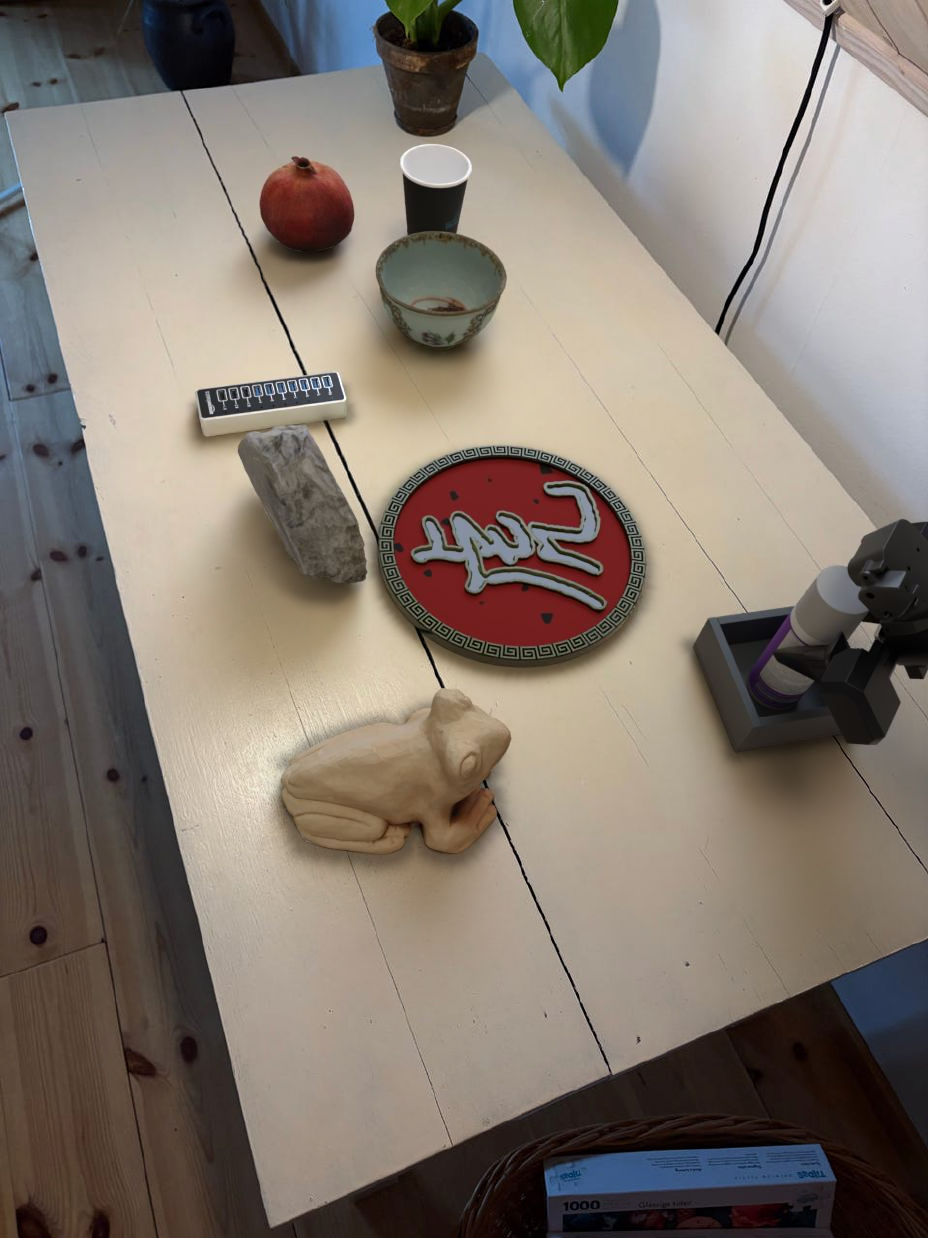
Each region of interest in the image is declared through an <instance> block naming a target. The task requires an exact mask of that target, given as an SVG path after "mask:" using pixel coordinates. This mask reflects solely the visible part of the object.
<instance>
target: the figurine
mask: <svg viewBox="0 0 928 1238" xmlns="http://www.w3.org/2000/svg"><path fill="white" fill-rule="evenodd" d="M511 741H512V733H511V731H510V729H509V728H508V727H507V725H506V724H505V723H504V722H503V721H501V720H499V719H498V718H497V717H494V716H492V715H490V714H488V712H487V711H485V710H483V709H482V708H481V707H480V706H477V705H476V704H474V703H473V702H472V699H471V698H470V697H469V696H467V695H466V694H465V693H464V692H462V691H461V690H460V689H459V688H447V687H444V688H443V687H442V688H440V689H439V690H437V691H436V692H435V693H434V696H433V698H432V701H431V707H425V708H421V709H418V710H417V711H415V712H412V713H411V714H409V715H407V716H406V717H405V723H403V724H394V723H392V722H375V723H374V722H373V723H369V724H367V725H364V726H360V727H357V728H354V729H351V730H347V731H344V732H341V733H338V734H336V735H333V736H330V737H327V738H326V739H323V740H321V741H319V742H317V743H315V744H314V745H312V746H310V747H309V748H307V749H306V750H303V751H302V752H300V753H297V754H296V755H294V756H293V757H291V758H290V760H289V761H288V763H289V764H288V767H287V768H286V769H285V771H283V773H282V774H281V776H280V783H281V785H282V786H283V787H284V788H283V789H282V791H281V798H282V801H283V804H284V805H285V807H286V810H287V812H288V813H289V814H290V815H291V816H293V822H294V823H295V826H296V829H297V831H298V833H299V835H300V837H302V840H304V842H306V843H310V844H314V845H317V846H320V847H322V848H326V849H327V848H328V849H332V850H343V851H345V850H347V851H350V852H360V853H365V854H371V855H372V854H373V855H387V854H390V853H393V852H397V851H399V850H401V849H402V848H403V846H404V845H405V844H406V840H405V838H407V837H409V835H410V832H411V829H412V828H416V827H419V829H420V832H421V834H422V837H423V839H424V844H425V845H426V846H427V847H428V848H429V849H431V850H433V851H439V852H442V853H449V854H459V853H461V852H463V851H465V850H466V849H468V848H469V847H470V846H472V845H473V844H474V843H475V842H476V840H477V839H478V838H479V837H480V836H481V835H482V834H483V833H484V832H485V831H486V830H487V829H488V828H489V826H490V825H491V824H492V823H493V822H494V820H495V819H496V817H497V815H498V811H497V808H496V806H495V805H494V804H491V803H492V802H493V800H494V799H495V797H496V795H495V793H494V792H493V791H492V790H490V789H489V788H488V787H485V788H483V787H481V786H480V784H481V783H483V781H485V780H486V779H487V777H489V775H490V774H491V773H492V771H493V769H494V768H495V767H496V765H497V764H499V763H500V762H501V760H502V759H503V757H504V756H505V754H506V753H507V751H508V749H509V747H510V745H511Z"/></svg>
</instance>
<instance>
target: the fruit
mask: <svg viewBox="0 0 928 1238" xmlns="http://www.w3.org/2000/svg"><path fill="white" fill-rule="evenodd" d="M290 159H291V160H292V161H290V162H288V163H285V164H284V165H282V166H280V167H279V168H277V169H276V170H274V171H273V172H271V173H270V174H269V175H268V177H267V178H266V180H265V181H264V183H263V185H262V189H261V192H260V195H259V196H260V197H259V204H258V205H259V212H260V213H259V214H260V217H261V220H262V223H263V224H264V226H265V229H266V230H267V231H268V232H269V233H270V234H271V237H273V238H274V239H275V240H276V241H277V242H278V243H279V244H281V246H283V247H285V248H287V249H288V250H291V251H294V252H302V253H312V252H313V253H314V252H319V251H323V250H328V249H329V250H330V249H332V248H335V247H338V246H339V245H340V244H341V243H342V242H343V241H344V240H345V239H346V238H347V237H348V236H349V234H351V232H352V229H353V225H354V221H355V207H354V201H353V198H352V195H351V192H350V190H349V188H348V186H347V184H346V183H345V181H344V179H343V178H342V177H341V175H340V174H339V173H338V171H336V169H334V168H333V167H331V166H330V165H327V164H323V163H321V162H319V161H315V160H310V159H309V158H307V157H305V156H301V157H299V156H296V155H293V156H292V157H290Z"/></svg>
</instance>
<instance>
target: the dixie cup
mask: <svg viewBox="0 0 928 1238" xmlns="http://www.w3.org/2000/svg"><path fill="white" fill-rule="evenodd" d="M399 168H400V171H401V172H402V184H403V185H402V186H403V196H404V209H405V220H406V235H410V234H414V233H419V232H425V231H440V232H451V233H456V234H458V227H459V224H460V218H461V214H462V209H463V204H464V199H465V195H466V189H467V185H468V180H469V178H470V177H471V174H472V171H473V166H472V162H471V160H470V159H469V157H468V156H467V155H465V154H464V153H463V152H461V151H460V150H458V149H457V148H454V147H451V146H449V145H444V144H437V143H425V144H419V145H416V146H413V147H411V148H409V149H408V150H406V151H405V152H404V153H403V154H402V155H401V157H400V159H399Z"/></svg>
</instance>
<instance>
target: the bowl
mask: <svg viewBox="0 0 928 1238" xmlns="http://www.w3.org/2000/svg"><path fill="white" fill-rule="evenodd" d="M375 279H376V281H377V284H378V286H379V291H380V296H381V301H382V304H383V307H384V309H385V312H386V314H387V316H388V317H389V319H390V322H392V324H393V325H394V326H395V327H396V329H397V330H399V331H400V332H401V333H402V334H403V335H405V336H406V337H408V338H409V339H411V340H413V341H415V342H416V343H417V344H419V345H420V346H421V347H424V348H427V349H429V350H431V351H433V350H434V351H447V350H450V349H452V348H455V347H457V346H458V345H459V344H462V343H465V342H466V341H469V340H471V339H472V338H474V337H476V336H477V335H478V334H479V333H481V332H482V331H483V330H484V329H485V328H486V327H487V325H488V324H489V323H490V322H491V321H492V318H493V316H494V315H495V313H496V311H497V309H498V306H499V303H500V300H501V297H502V295H503V293H504V290H505V289H506V287H507V281H508V276H507V271H506V268H505V266H504V263H503V262H502V260H501V259H500V258H499V256H498V255H497V254H496V253H495V252H494V251H493V250H492V249H491V248H489V247H488V246H486V245H485V244H484V243H482V242H480V241H478V240H476V239H474V238H471V237H470V236H466V235H463V234H459V233H457V234H456V233H451V232H440V231H425V232H419V233H414V234H410V235H408V234H406V235H405V236H402V237H401V238H398V239H397V240H394V241H393V242H392V243H391V244H389V245H388V246H387V247H385V249H384V250H383V251H382V252H381V253H380V255H379V257H378V259H377V261H376V265H375Z"/></svg>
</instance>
